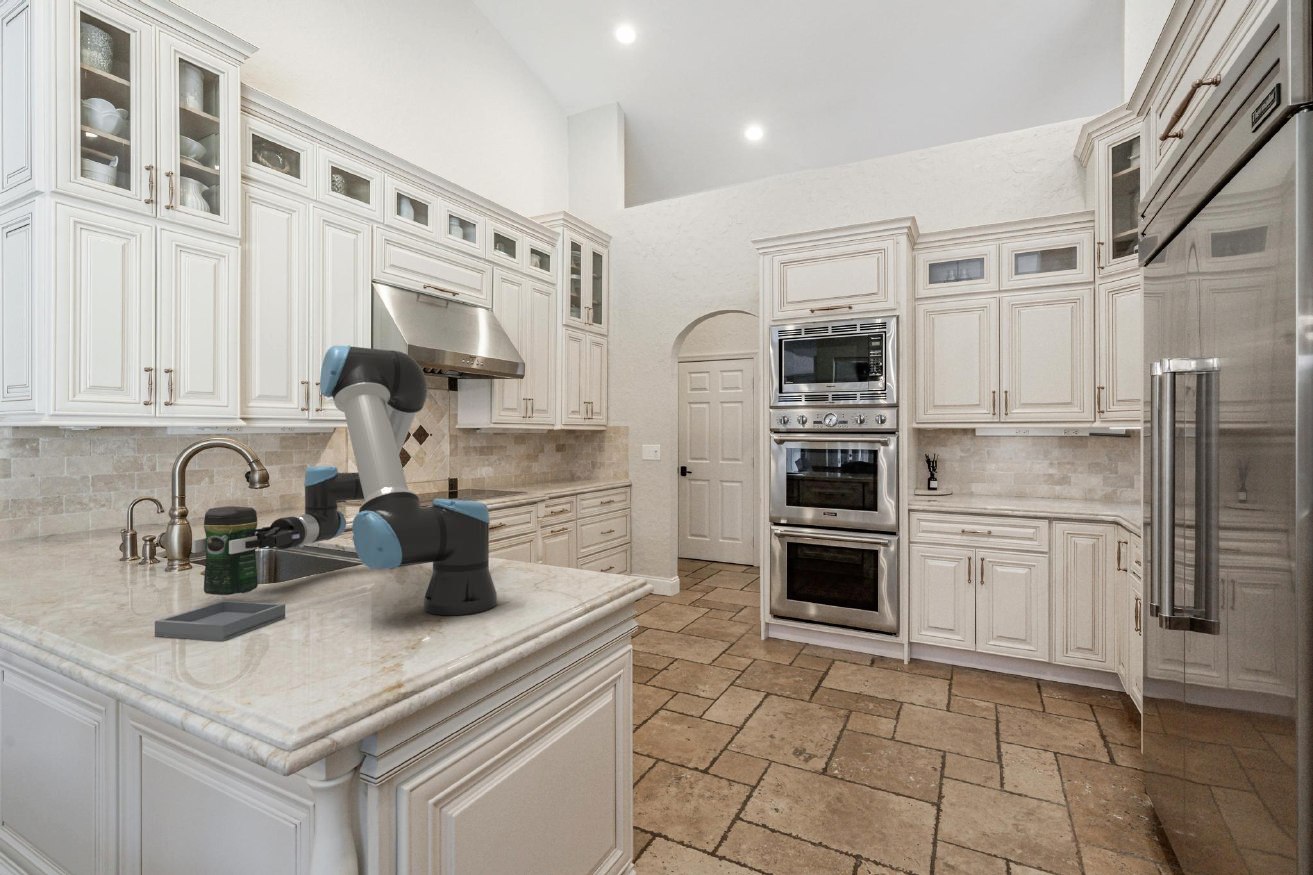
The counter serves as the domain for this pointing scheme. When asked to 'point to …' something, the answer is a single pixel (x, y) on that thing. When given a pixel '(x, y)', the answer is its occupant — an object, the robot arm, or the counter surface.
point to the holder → (220, 620)
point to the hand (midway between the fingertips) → (212, 546)
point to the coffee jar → (221, 567)
